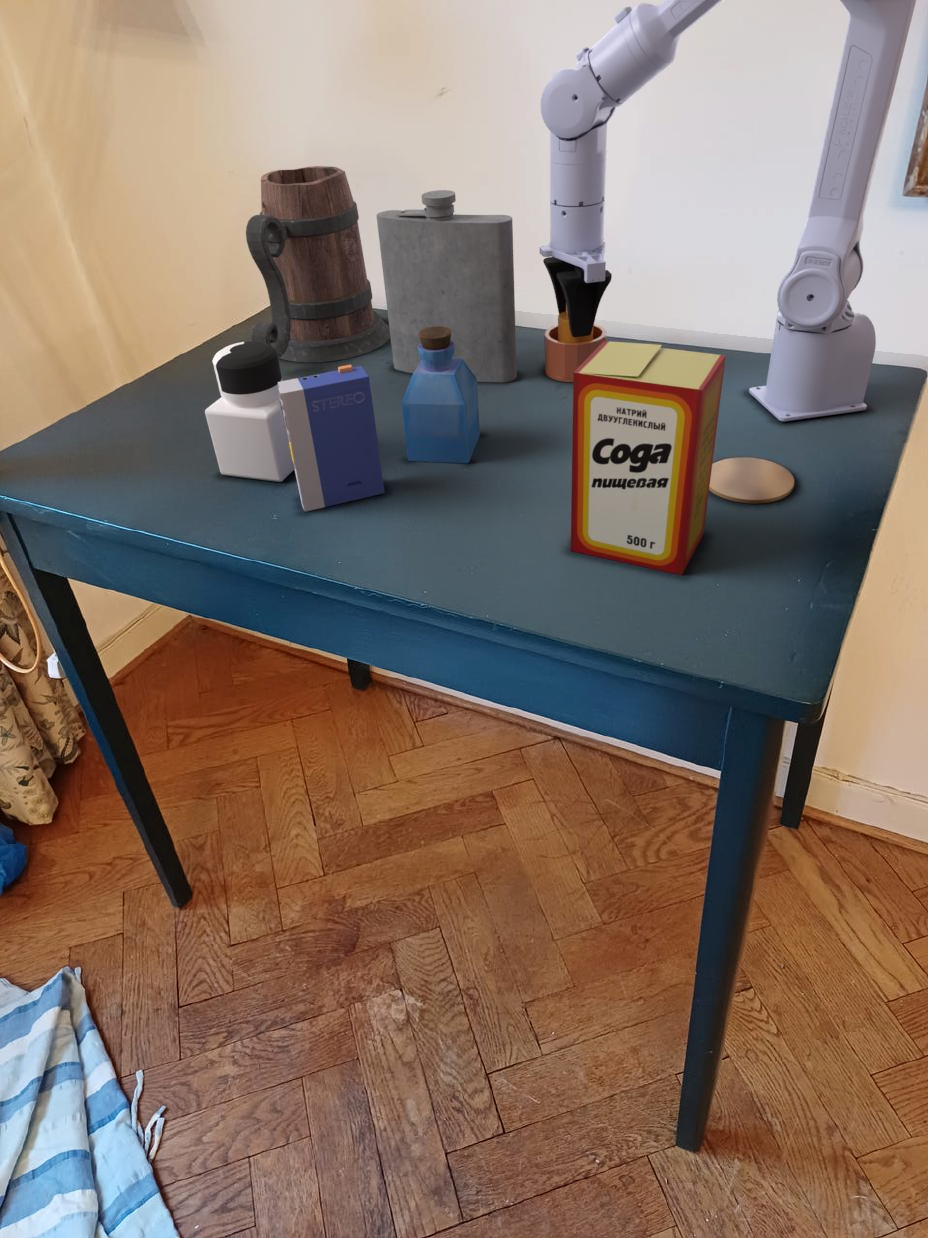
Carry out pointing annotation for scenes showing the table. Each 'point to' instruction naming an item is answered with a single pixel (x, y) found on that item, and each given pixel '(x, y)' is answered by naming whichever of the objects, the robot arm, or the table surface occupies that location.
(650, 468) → the baking soda box
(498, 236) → the hip flask
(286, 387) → the walkman
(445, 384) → the perfume bottle
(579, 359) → the cup
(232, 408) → the medicine bottle
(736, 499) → the coaster
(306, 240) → the tankard
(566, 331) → the bottle
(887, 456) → the table surface
